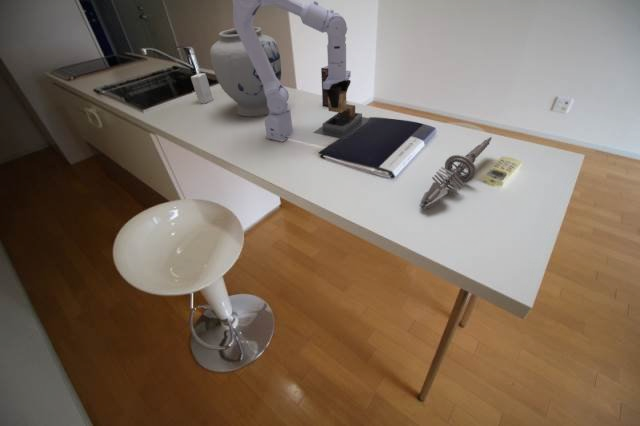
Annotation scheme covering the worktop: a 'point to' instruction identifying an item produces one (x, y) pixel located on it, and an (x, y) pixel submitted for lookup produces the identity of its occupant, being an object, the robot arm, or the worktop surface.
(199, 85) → the skincare box
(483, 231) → the worktop surface
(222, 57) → the white ceramic vase
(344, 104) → the oak block
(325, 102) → the supplement box
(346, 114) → the brown wooden block
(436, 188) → the spaceship
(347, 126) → the board
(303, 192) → the worktop surface
